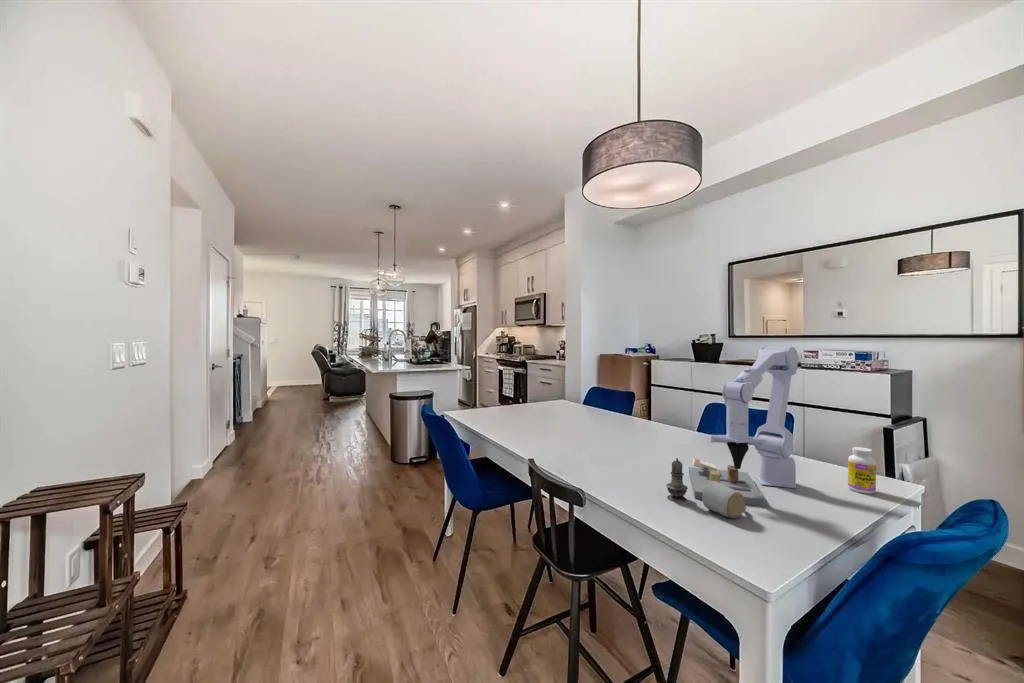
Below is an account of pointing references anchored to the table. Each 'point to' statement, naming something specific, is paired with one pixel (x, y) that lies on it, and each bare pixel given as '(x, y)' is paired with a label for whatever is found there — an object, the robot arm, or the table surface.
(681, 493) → the grey stone rounded piece
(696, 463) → the rocker
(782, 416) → the robot arm
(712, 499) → the ceramic mug
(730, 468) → the walnut knob
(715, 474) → the tan wooden block
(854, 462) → the supplement bottle
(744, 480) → the console
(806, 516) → the table surface
